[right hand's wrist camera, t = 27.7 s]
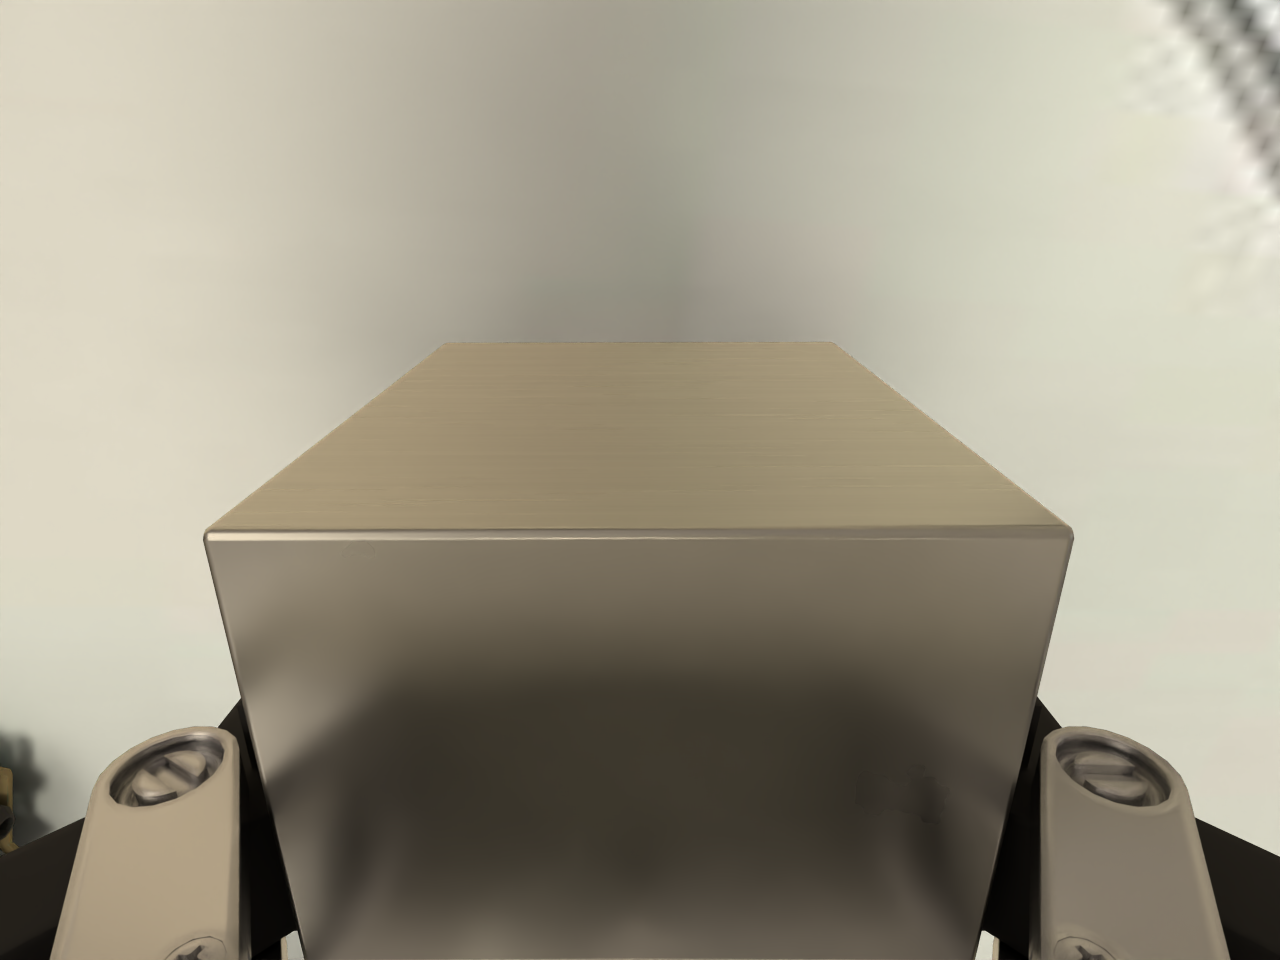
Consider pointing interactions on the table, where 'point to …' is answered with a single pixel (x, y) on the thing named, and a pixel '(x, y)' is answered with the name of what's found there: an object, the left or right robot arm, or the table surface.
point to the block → (639, 659)
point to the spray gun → (6, 811)
